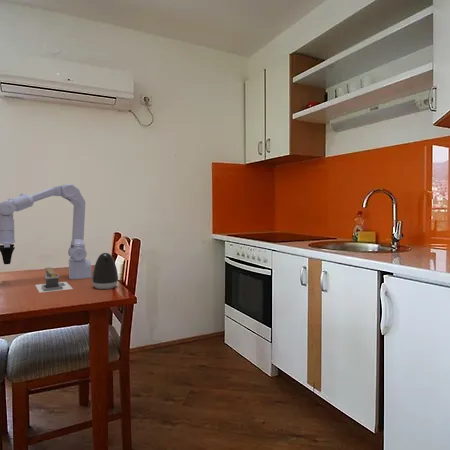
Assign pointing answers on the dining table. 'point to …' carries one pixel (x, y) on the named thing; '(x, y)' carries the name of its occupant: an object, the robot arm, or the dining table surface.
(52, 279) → the plug
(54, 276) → the lever handle
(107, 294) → the dining table surface
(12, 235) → the robot arm
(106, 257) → the black rounded cone
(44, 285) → the lever mounting base
